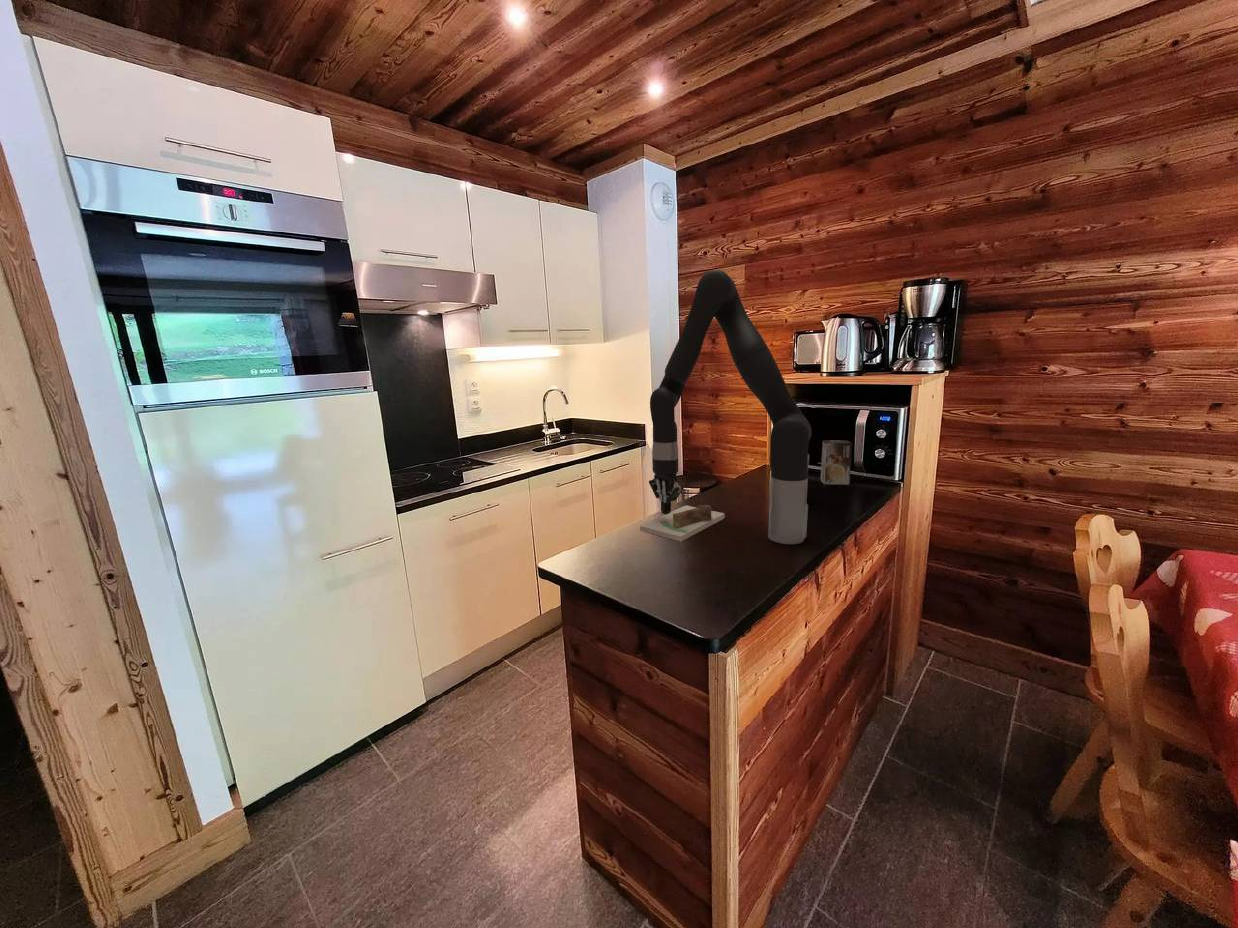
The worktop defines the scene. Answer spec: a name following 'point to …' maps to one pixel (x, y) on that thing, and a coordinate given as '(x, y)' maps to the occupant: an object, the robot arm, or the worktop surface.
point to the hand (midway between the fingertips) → (666, 513)
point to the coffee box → (836, 462)
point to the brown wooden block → (692, 515)
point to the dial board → (667, 530)
